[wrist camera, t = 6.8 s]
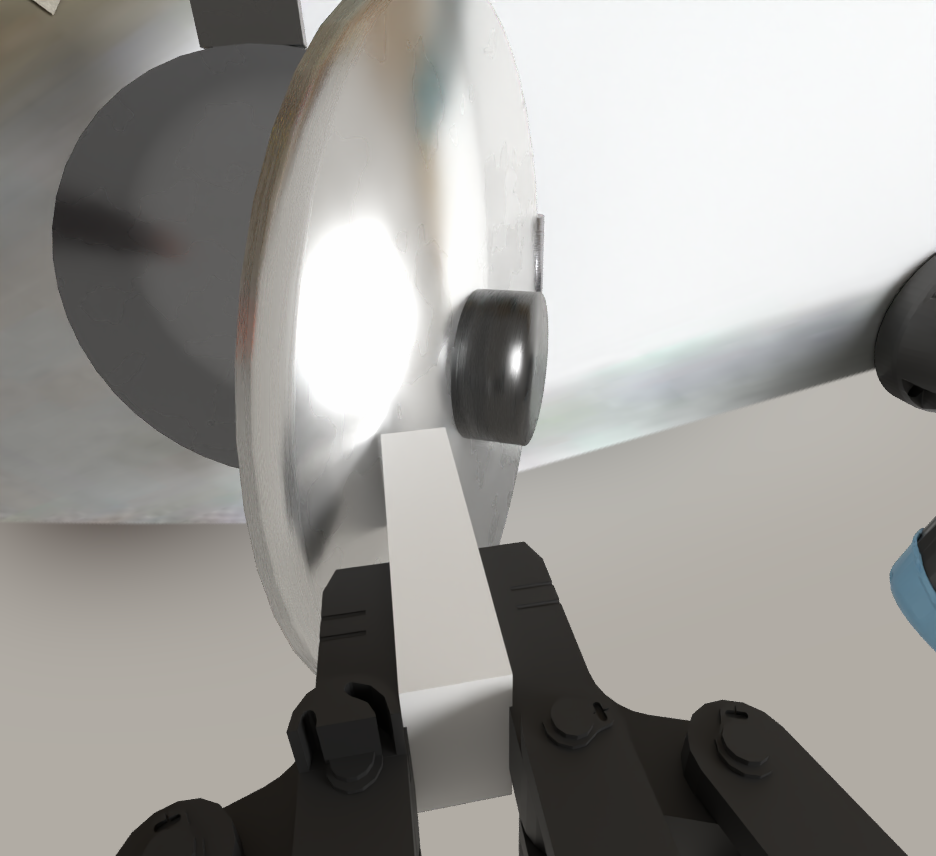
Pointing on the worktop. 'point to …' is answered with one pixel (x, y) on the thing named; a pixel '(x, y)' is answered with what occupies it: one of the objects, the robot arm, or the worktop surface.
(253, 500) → the lid
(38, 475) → the worktop surface
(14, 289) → the worktop surface
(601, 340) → the worktop surface
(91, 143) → the pot
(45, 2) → the condiment
